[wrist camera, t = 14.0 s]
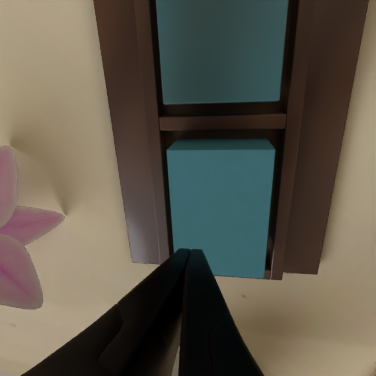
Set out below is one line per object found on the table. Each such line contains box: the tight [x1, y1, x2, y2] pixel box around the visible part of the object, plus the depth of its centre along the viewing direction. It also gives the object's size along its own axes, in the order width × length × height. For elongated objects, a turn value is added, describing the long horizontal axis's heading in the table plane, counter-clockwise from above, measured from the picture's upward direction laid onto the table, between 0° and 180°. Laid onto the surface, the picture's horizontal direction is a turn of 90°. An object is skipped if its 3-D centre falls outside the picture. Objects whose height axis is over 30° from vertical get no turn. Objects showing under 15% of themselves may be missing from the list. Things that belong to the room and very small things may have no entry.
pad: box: [167, 138, 275, 279], centre depth 16 cm, size 6×8×3 cm
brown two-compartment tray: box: [93, 0, 369, 280], centre depth 14 cm, size 14×22×4 cm, turn 2°
